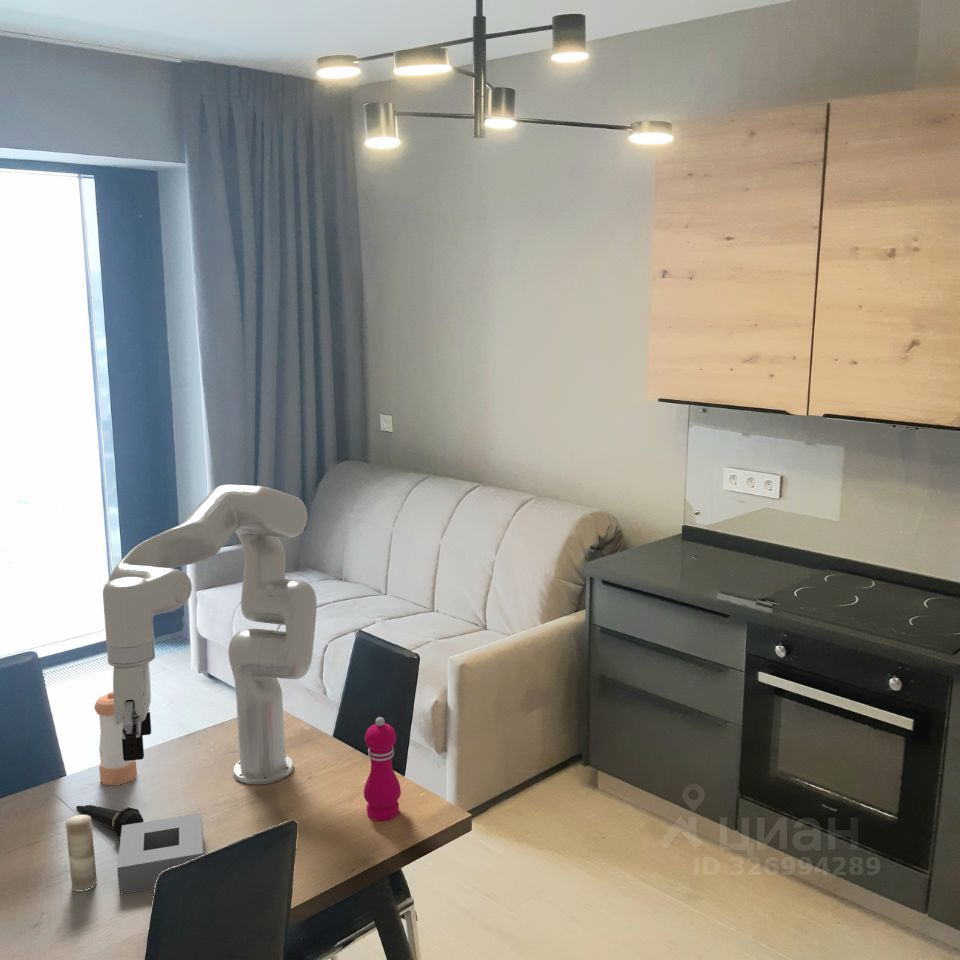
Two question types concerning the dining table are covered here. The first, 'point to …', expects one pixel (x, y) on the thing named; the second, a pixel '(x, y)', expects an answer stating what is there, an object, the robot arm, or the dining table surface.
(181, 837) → the socket block
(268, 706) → the robot arm
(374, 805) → the pepper mill
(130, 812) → the microphone
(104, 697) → the salt shaker
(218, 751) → the dining table surface
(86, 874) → the peg
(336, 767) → the dining table surface
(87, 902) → the dining table surface
